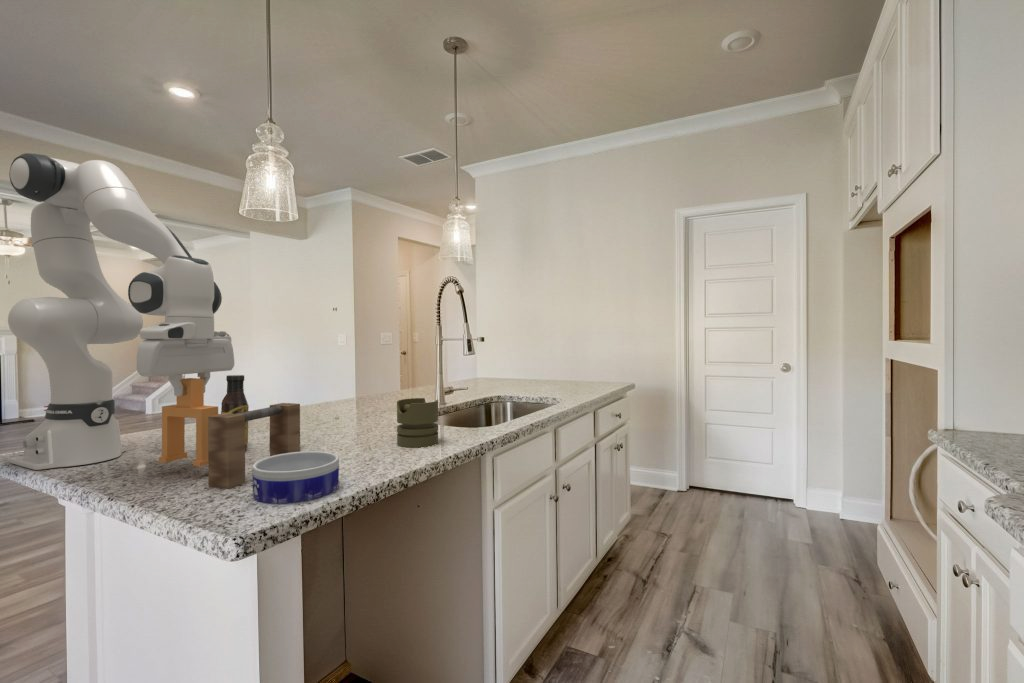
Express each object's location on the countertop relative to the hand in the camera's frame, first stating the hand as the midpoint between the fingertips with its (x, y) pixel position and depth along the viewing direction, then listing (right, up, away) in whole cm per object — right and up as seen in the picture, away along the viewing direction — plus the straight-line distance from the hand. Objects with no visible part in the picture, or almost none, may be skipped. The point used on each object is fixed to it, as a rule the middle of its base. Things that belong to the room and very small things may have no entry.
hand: (190, 394), depth 102 cm
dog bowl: (+28, -18, -11) cm, 35 cm away
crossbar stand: (+15, -17, 0) cm, 23 cm away
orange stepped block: (0, -15, 0) cm, 15 cm away
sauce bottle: (-2, -17, +21) cm, 27 cm away
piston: (+44, -17, +29) cm, 55 cm away
